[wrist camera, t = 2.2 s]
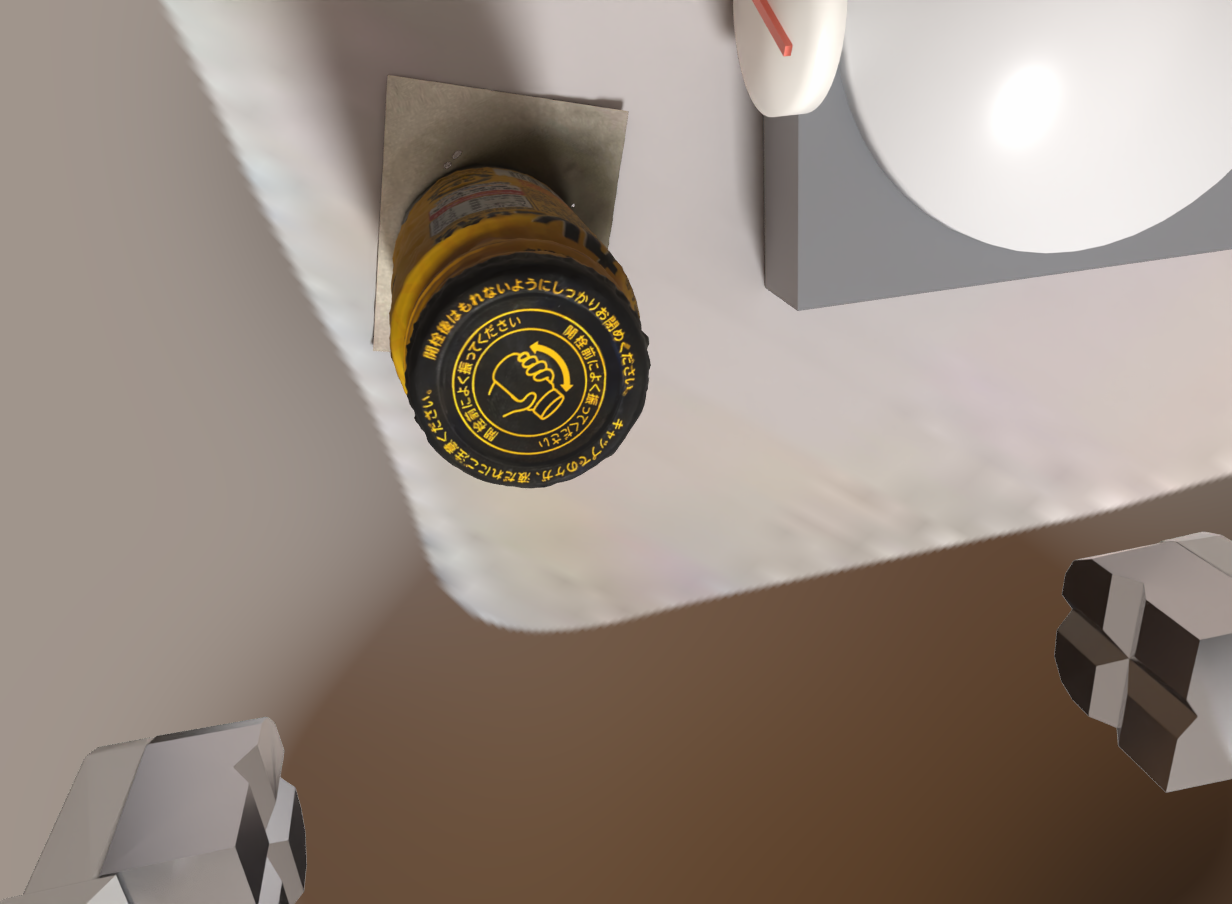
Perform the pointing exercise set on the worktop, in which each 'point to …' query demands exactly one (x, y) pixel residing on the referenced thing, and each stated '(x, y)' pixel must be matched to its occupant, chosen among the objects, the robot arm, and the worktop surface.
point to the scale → (985, 139)
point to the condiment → (507, 280)
